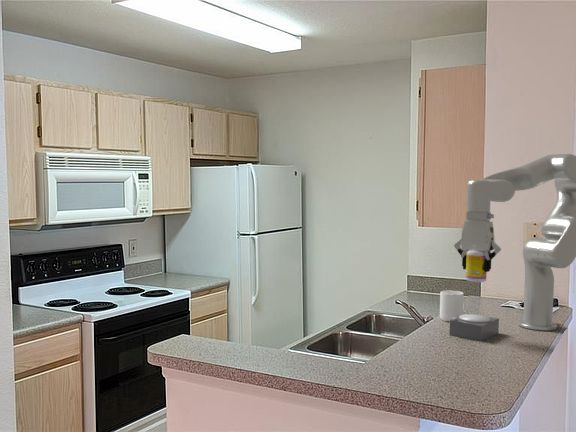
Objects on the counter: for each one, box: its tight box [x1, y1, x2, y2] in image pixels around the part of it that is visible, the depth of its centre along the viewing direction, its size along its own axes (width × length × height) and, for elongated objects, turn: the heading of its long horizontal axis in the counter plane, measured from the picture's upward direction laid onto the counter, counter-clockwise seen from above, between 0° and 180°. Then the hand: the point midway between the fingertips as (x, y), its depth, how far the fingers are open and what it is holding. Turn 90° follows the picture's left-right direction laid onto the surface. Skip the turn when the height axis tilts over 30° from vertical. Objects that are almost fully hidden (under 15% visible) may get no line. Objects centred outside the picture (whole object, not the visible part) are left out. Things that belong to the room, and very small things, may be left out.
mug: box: [439, 290, 467, 323], centre depth 217 cm, size 12×8×10 cm
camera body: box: [449, 313, 500, 342], centre depth 196 cm, size 14×11×6 cm
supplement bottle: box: [465, 244, 488, 283], centre depth 195 cm, size 7×7×13 cm
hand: (476, 269), depth 195 cm, fingers closed on supplement bottle, 6 cm apart
